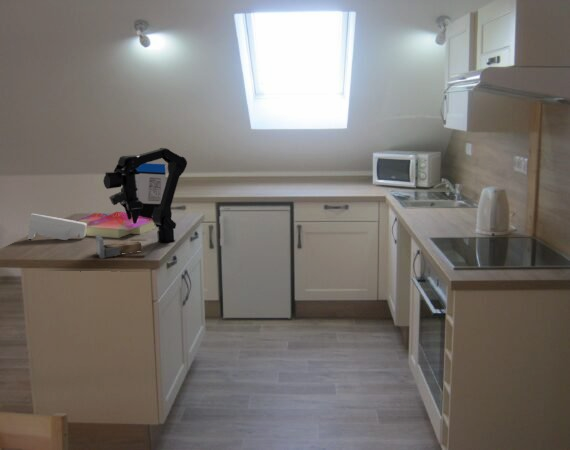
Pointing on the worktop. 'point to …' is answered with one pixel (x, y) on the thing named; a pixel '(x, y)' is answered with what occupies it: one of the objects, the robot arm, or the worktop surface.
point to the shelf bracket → (55, 227)
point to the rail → (127, 247)
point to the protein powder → (150, 187)
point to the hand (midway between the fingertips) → (132, 221)
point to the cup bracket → (102, 249)
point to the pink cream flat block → (116, 225)
